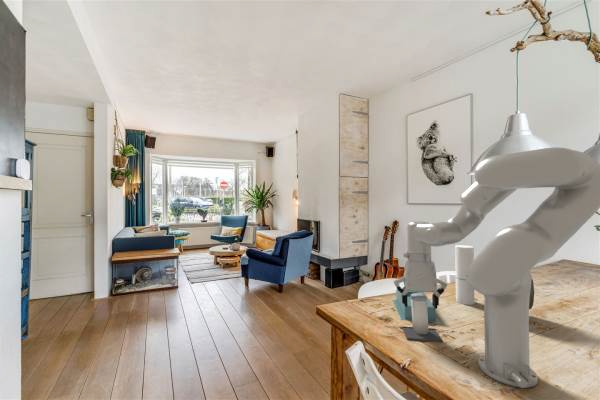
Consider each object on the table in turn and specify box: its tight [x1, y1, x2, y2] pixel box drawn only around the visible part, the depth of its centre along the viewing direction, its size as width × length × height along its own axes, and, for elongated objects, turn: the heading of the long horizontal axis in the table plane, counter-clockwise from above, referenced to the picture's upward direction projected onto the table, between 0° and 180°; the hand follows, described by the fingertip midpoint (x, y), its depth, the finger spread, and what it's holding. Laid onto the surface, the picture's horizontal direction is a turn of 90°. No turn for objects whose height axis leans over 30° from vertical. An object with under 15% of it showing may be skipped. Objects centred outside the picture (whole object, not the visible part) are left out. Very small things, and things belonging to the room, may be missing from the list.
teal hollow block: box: [392, 288, 441, 323], centre depth 111 cm, size 21×14×6 cm, turn 170°
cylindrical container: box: [454, 244, 475, 306], centre depth 122 cm, size 7×7×25 cm
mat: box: [401, 326, 444, 343], centre depth 94 cm, size 11×11×1 cm
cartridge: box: [411, 293, 429, 335], centre depth 94 cm, size 5×5×12 cm
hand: (420, 306), depth 94 cm, fingers open, 9 cm apart
